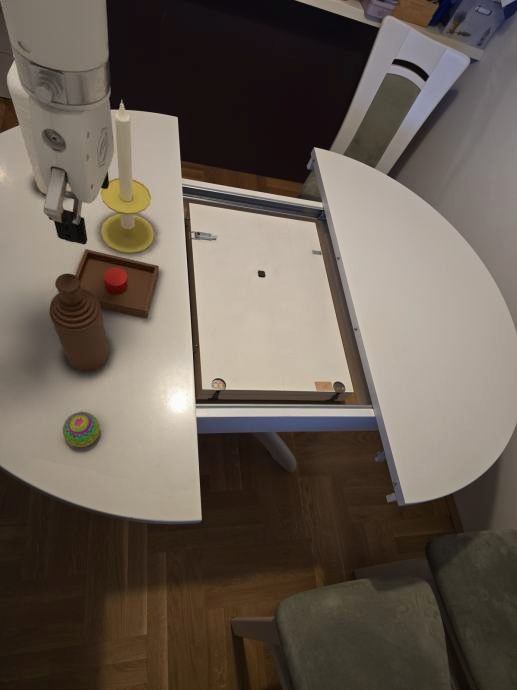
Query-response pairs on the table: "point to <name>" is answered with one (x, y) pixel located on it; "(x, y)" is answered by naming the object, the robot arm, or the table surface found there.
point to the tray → (138, 280)
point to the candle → (126, 198)
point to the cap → (115, 280)
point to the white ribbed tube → (25, 122)
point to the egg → (81, 429)
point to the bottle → (79, 324)
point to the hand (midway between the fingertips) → (85, 211)
